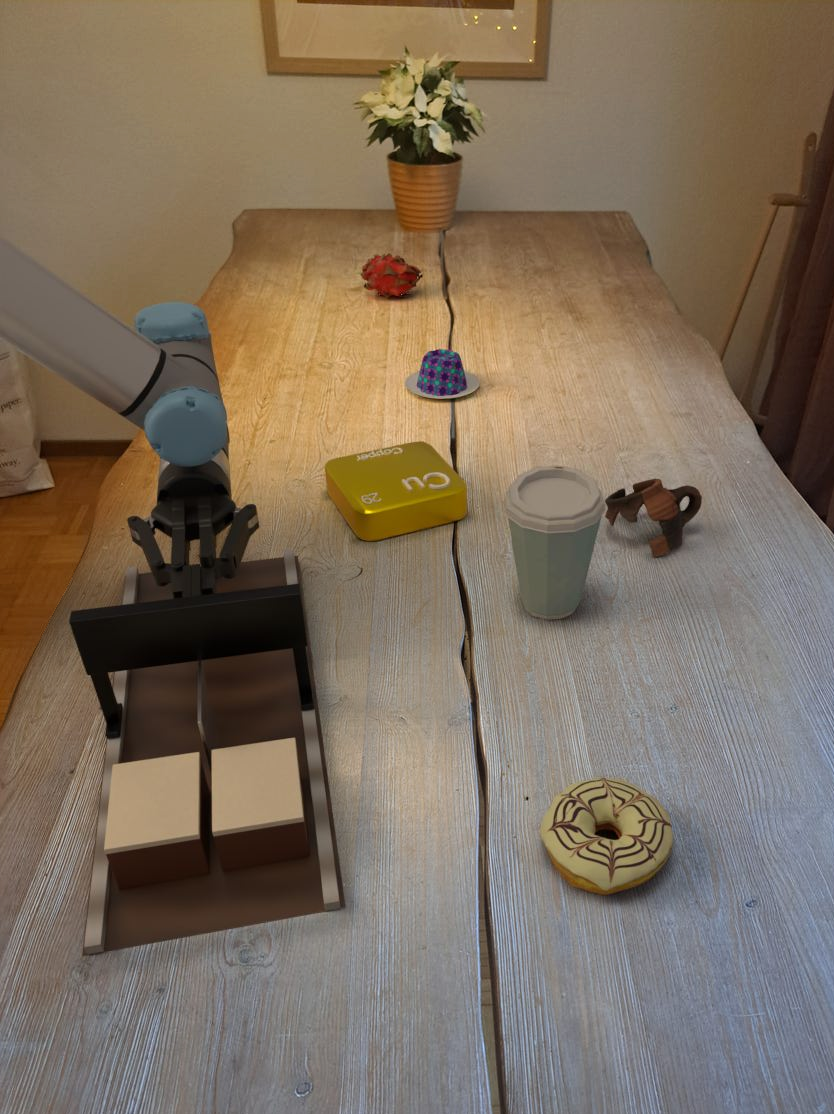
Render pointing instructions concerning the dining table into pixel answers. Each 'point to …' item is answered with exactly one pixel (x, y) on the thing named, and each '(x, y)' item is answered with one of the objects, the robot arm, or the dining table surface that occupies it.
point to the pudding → (442, 376)
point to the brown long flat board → (172, 729)
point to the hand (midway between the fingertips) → (193, 617)
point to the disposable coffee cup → (553, 536)
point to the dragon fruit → (390, 275)
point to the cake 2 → (258, 804)
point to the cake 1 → (158, 820)
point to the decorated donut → (599, 858)
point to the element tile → (395, 490)
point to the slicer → (190, 641)
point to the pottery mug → (657, 510)
